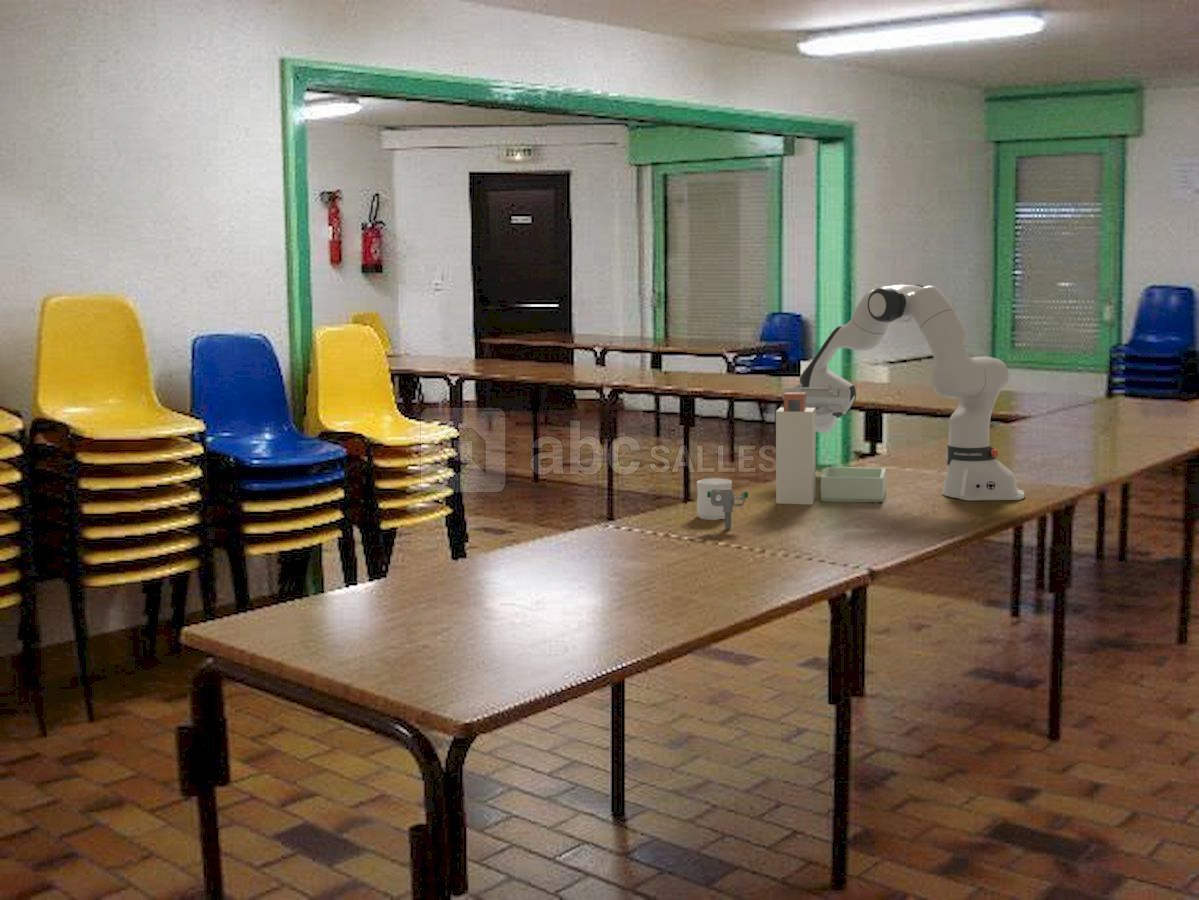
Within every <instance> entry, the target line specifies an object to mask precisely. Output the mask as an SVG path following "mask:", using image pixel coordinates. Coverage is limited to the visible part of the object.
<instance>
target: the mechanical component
mask: <svg viewBox="0 0 1199 900" xmlns="http://www.w3.org/2000/svg"><path fill="white" fill-rule="evenodd" d="M717 495H720V496H721V499H717V498H716V496H717ZM707 497H710V498H711V504H712V505H713V506H723V512H725V519H724V528H725V530H726V529H730V530H731V529H732V515H731V512H732V513H733V512H734V509H733V507H742V506H744V504H745V502H746V499H749V491H745V490H742V491H741V493H740V495H739V496H736V494H735V493H734V490H733V489H731V490H711V491H708V492H707ZM734 500H739V501H742V502H735V501H734Z"/></svg>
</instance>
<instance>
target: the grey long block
mask: <svg viewBox="0 0 1199 900" xmlns="http://www.w3.org/2000/svg"><path fill="white" fill-rule="evenodd" d="M783 407H784V412H804V411H805V410H806V392H786V393H785V394H784V399H783Z"/></svg>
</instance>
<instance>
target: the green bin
mask: <svg viewBox="0 0 1199 900" xmlns="http://www.w3.org/2000/svg"><path fill="white" fill-rule="evenodd" d="M822 472H823V473H822V474H821V476H820V502H821V501H823V502H825V503H826V502H827V503H829V502H830V503H857V502H883V503H884V500H883V499H885V496H884V495H886V492H887V491H886V485H887V481H886V479H887V475H886V473H887V470H886V467H853V466H852V467H848V466H847V467H844V466H826V467H825V469H824V471H822ZM885 491H886V492H885ZM823 502H822V503H823Z"/></svg>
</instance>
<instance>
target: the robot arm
mask: <svg viewBox="0 0 1199 900" xmlns="http://www.w3.org/2000/svg"><path fill="white" fill-rule="evenodd" d="M852 313H853V314H852V316H851V318H850V320H849V321H848V322H847V323H846V324H840V325H838V326H836V328H835V329H834V330H833V331H831V333H830V335H829V336H828V337H827V338H826V339H825V342H824V343H823V344H822V346H821V347H820V349H819V350H818V352H817V353H816V355H815V356H814V357H813V359H812V361H811V362H810V363H809V364H808V365H807V367H806V368H805V369H804V371H802V374H801V375H800V378H799V383H797V384H796V386H795V387H793V386H792V387H791V386H790V387H788V386H787V387H785V388H783V393H782V398H783V400H784V394H785V393H786V392H806V408H815V432H818V433H828V432H830V431H832V430H833V429H834V428H835V425H836V422H837V420H838V419H839V418H842V417H843V416H845V415H846V414H847V413H848V412H849V411H850V410H852V408H853V406H854V404H855V402H856V399H857V398H856V397H857V389H856V386H855V385H854V384H852V383H851V382H850V381H848V380H847V379H845V378H843V377H841V376H840V375H838V374H837V373H836V372H833V371H832V370H830V368H829V366H828V364H829V362H830V360H832V358H833V357H834V355H835V354H836V352H837V351H838V349H849V350H853V351H868V350H869V351H870V350H872V349H874V348H875V347H877V346H878V345H879V344H880V342H881V341H882V339H883V337H884V335H885V333H886V331H887V329H888V327H889V325H890V323H909V322H914V321H915V323H916V324H917V326H918V328H919V330H920V331H921V334H922V335H923V337H924V339H925V340H926V343H927V345H928V346H929V349H930V351H931V352H932V356H933V360H934V361H933V362H934V368H933V370H932V372H931V376H930V384H931V387H932V389H933V391H934V393H935V394H937V395H938V396H940V397H943V398H948V399H954V400H955V399H960V400H959V404H958V405H957V408H956V409H955V410H954V412H952V414H951V415H950V416H949V420H948V444H947V445H946V465H947V468H946V477H945V481H944V486H943V489H942V491H941V494H942V495H943V496H945V497H949V498H955V499H960V500H963V501H1019V500H1022V499H1024V498H1025V491H1024V490H1023V489H1020V488H1019V487H1018V483H1017V479H1016V476H1015V474H1014V472H1013V471H1012V470H1010V469H1009V468H1008V467H1007V466H1005V465H1004V464H1003V463H1001V462H1000V461H999V460H998V459H997V457H998V456H999V454H1000V453H999V450H998V449H997V448H995V447H994V446H992V445H990V428H991V417H992V414H993V409H994V406H995V403H996V401H997V399H998V396H999V394H1000V393H1001V391H1002V390H1003V389H1004V388H1005V386H1007V384H1008V381H1009V369H1008V367H1007V365H1006V363H1005V362H1004V361H1003V360H1001V359H999V358H998V357H997V358H995V357H992V356H974V357H970V356H969V355H968V352H967V350H966V343H967V342H968V339H969V333H968V331H967V328H966V327H965V325H964V323H963V322H962V319H961V318H960V317H959V314H958V313H957V311H956V309H955V308H954V306H953V304H952V303H951V302H950V300H949V299H948V297H947V296H946V295H945V294H944V293H943V292H942V290H941V289H940V288H938V287H937V286H935V285H923V284H893V285H883V286H880V287H878V288H875V289H871V290H868V291H867V292H866V293H864V295H863V297H862V298H861V299H860V301H859V302H858V305H857V306H856V308H855V309H854V311H853V312H852Z"/></svg>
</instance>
